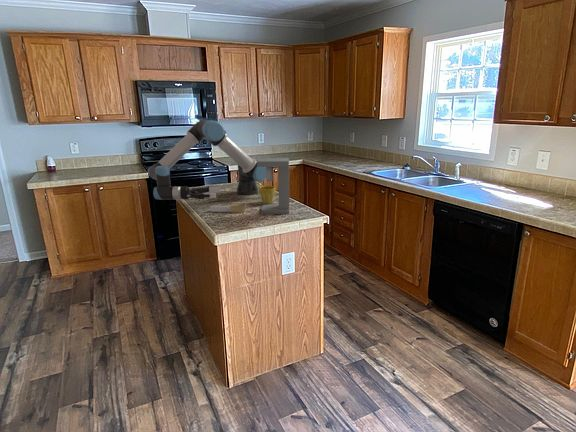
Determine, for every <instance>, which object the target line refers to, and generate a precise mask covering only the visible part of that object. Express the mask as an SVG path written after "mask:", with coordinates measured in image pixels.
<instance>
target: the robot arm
mask: <svg viewBox="0 0 576 432" xmlns="http://www.w3.org/2000/svg"><path fill="white" fill-rule="evenodd" d="M227 134H228V133H227V131H226V130H225V129H224V127H223V124H221V123H220V122H219V121H217V120H212V119H211V120H210V119H201V120H198V121H197V122H196V123H195V124H193V125H192V127H190V129H188V130H187V132H186V135H184V136H183V138H182V139H180V141H179V142H177V144H176V145H174V146H173V147H172V148H171V149H170V150H169V151H168V152H167V153H166V154H165V155H164V156H163V157H162V158H161V159H160V160H159V161H157V163H155V164H154V165H151V166H150V167H148V169H147V174H148V176H149V177H150V178H151V179H153V180H155V181H156V186H155V187H153V192H152V193H153V197H154V199H155V200H162V201H165V200H167V201H168V200H176V201H179V200H189V199H197V200H202V201H203V200H205V199H217V193H221V187H210V186H205V187H204V186H203V187H195V188H192V189H190V187H189V186H186V185H185V186H172V185H171V184H172V183H171V176H170V175H171V171H170V169H171V168H173V166H174V165H175V164H176V163H177V162H179V161H180V160H181V159H182V158H183V157H184V156H185V155H186V154H187V153H188V152H189V151H190V150H191V149H192V148H193V147H194V146H195V145H196V144H200V143H201V142H202V141H203V140H206V141H207V142H208V143H210V144H211V145H212V146H213V147H217V148H219V149H220V150H221V151H223V152H224V154H225V155H227V156H228V157H229V158H230V159H231V160H233V162H235V163H236V164H237V173H238V183H237V187H236V194H238V195H244V196H246V195H247V196H251V195H256V194H258V193H259V187H258V185H257V183H261V182H263V181H266V167H258V160H257V159H256V158H254V157H253V158H251V157H250V155H248V154H247V153H246V152H245V151H244V150H243V149H242V148H241V147H239V145H238V144H236V143H235V142H234V141H233V140H232V139H231V138H230V137H229V136H228V135H227Z"/></svg>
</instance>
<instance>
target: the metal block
mask: <svg viewBox="0 0 576 432" xmlns="http://www.w3.org/2000/svg"><path fill="white" fill-rule="evenodd" d="M209 209H210V213H230V214H231V213H232V214H233V213H240V214H241V213H243V214H244V213H245V211H246V202H245V203H244V202H243V203H242V202H241V203H239V202H237V203H234V202H232V203H231V204H230V205H210V207H209Z"/></svg>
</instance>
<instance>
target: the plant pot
mask: <svg viewBox="0 0 576 432" xmlns="http://www.w3.org/2000/svg"><path fill="white" fill-rule="evenodd" d="M258 193H259V194H260V197H261V201H262V204H263V205H271V204H273V203H274V198H275V194H276V186H272V185H263V186H258Z"/></svg>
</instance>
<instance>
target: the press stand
mask: <svg viewBox="0 0 576 432" xmlns="http://www.w3.org/2000/svg"><path fill="white" fill-rule="evenodd" d="M257 161H258V167H266V179H265V181H266V182H274V167H275V168H277V178H278V179H277V180H278V181H277V183H278V184H277V186H278V188H277V190H278V204H262V207H261V210H260V212H261V213H260V214H261V215H266V214H267V215H269V214H270V215H271V214H273V215H275V214H276V215H277V214H280V215H281V214H283V215H286V214H290V158H289V157H277V158H276V157H270V158H269V157H268V158H265V157H264V158H259V159H258V160H257Z"/></svg>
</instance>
